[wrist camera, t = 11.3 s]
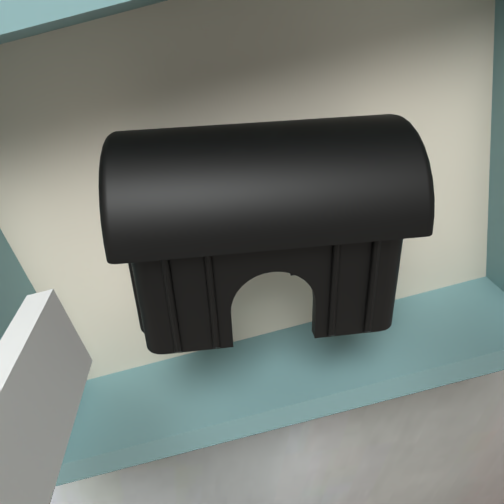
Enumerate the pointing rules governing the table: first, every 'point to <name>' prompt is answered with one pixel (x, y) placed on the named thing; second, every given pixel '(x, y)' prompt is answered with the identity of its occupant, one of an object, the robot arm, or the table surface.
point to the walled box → (268, 284)
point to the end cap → (263, 219)
